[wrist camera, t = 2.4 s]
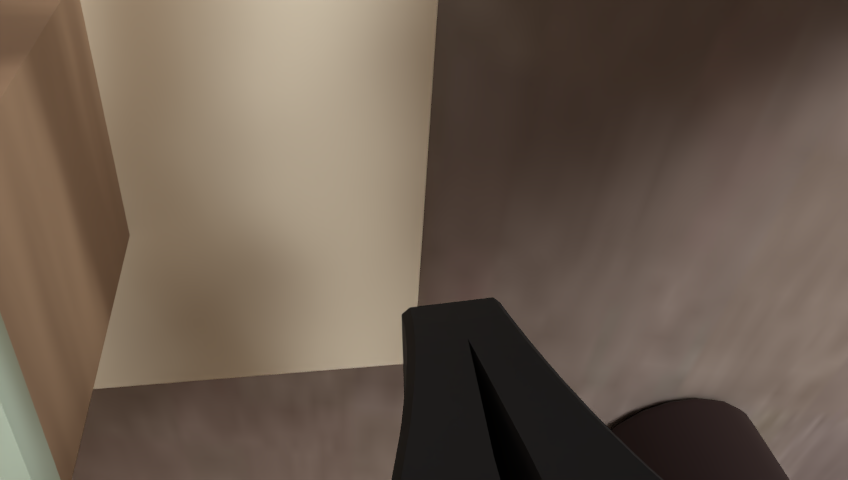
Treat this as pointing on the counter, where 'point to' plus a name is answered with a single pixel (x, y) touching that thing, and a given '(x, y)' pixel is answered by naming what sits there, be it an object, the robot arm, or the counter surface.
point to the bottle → (699, 442)
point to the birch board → (263, 182)
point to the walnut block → (52, 236)
